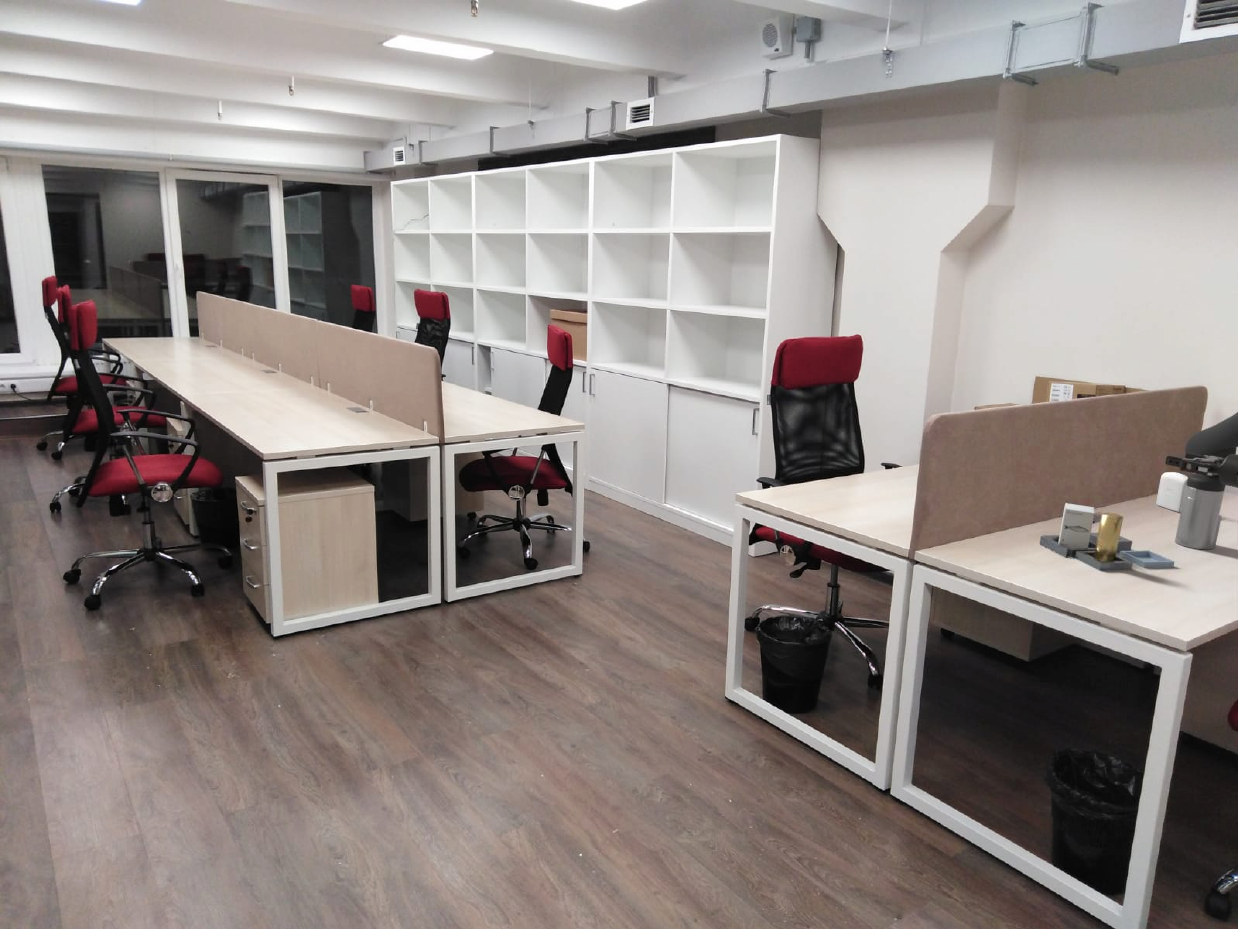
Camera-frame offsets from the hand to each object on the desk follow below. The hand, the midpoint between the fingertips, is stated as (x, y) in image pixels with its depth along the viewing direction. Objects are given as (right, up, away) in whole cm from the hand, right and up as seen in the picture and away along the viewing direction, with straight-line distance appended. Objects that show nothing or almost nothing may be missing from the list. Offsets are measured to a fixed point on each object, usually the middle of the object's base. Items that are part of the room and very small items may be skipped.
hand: (1176, 458), depth 213 cm
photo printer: (+48, -17, +78) cm, 93 cm away
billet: (-8, -28, +17) cm, 34 cm away
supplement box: (-11, -26, +29) cm, 40 cm away
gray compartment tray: (-10, -27, +23) cm, 37 cm away
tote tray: (+5, -28, +21) cm, 35 cm away
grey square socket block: (+1, -25, +32) cm, 41 cm away
